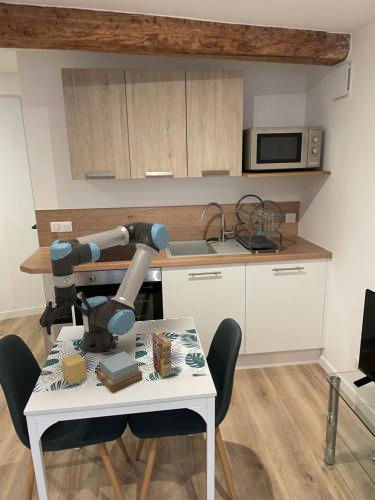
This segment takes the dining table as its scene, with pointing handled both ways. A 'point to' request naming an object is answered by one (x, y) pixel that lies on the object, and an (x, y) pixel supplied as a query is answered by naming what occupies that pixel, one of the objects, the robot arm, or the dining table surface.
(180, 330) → the dining table surface
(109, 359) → the top block
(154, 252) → the robot arm
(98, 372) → the base block
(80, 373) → the ochre block
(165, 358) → the candy box
